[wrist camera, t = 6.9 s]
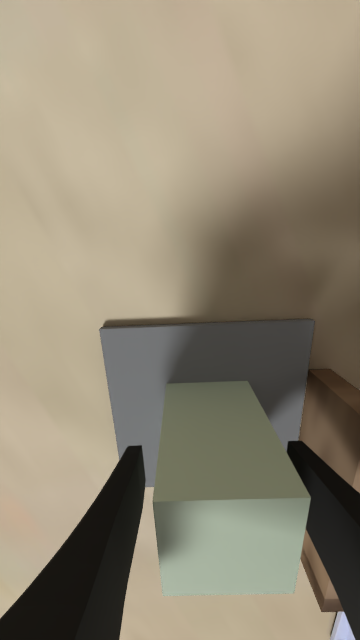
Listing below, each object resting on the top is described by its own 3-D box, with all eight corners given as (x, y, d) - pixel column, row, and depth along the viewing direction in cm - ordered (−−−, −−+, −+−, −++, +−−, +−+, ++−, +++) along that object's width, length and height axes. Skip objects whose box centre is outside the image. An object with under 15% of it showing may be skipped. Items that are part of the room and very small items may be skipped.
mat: (289, 477, 14) (292, 483, 14) (125, 481, 14) (123, 487, 14) (310, 318, 11) (315, 321, 11) (102, 326, 11) (99, 329, 11)
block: (244, 445, 13) (294, 593, 7) (170, 447, 13) (162, 595, 7) (247, 380, 12) (310, 497, 6) (166, 383, 12) (152, 501, 6)
